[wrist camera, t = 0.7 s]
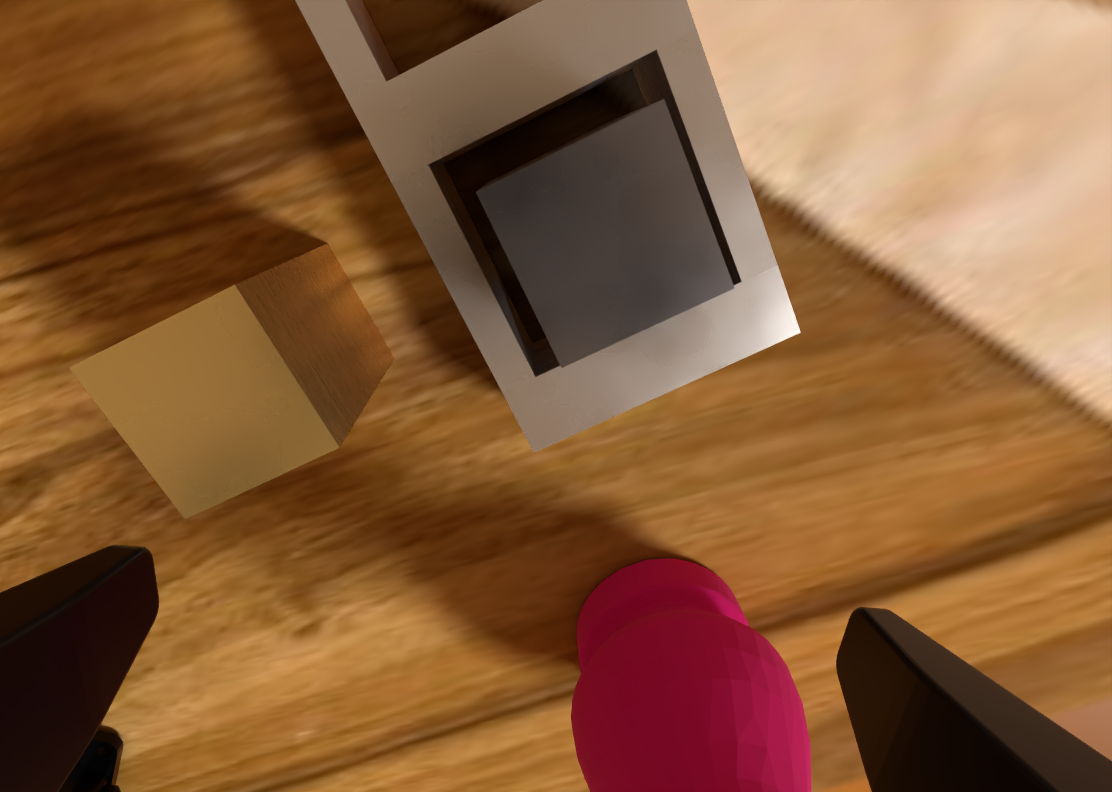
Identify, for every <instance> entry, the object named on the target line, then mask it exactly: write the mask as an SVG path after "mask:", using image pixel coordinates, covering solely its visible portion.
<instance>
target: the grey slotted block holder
mask: <svg viewBox="0 0 1112 792" xmlns="http://www.w3.org/2000/svg"><path fill="white" fill-rule="evenodd" d="M295 1H296V3H297V5H298V7H299V9H300V11H301V12H302V14H303V16H304V18H305V20H306V22H307V24H308V26H309V28H310V29H311V31H312V33H313V35H314V37H315V39H316V41H317V43H318V45H319V46H320V48H321V50H322V52H323V54H324V56H325V58H326V60H327V62H328V64H329V65H330V67H331V69H332V71H333V73H334V75H335V77H336V79H337V81H338V82H339V84H340V86H341V88H342V90H343V92H344V94H345V96H346V98H347V99H348V101H349V103H350V105H351V107H352V109H353V111H354V113H355V115H356V117H357V118H358V120H359V122H360V124H361V126H362V128H363V130H364V132H365V134H366V135H367V137H368V139H369V141H370V143H371V145H372V147H373V149H374V151H375V152H376V154H377V156H378V158H379V160H380V162H381V164H382V166H383V168H384V170H385V171H386V173H387V175H388V177H389V179H390V181H391V183H392V185H393V187H394V188H395V190H396V192H397V194H398V196H399V198H400V200H401V202H402V204H403V205H404V207H405V209H406V211H407V213H408V215H409V217H410V219H411V221H412V223H413V224H414V226H415V228H416V230H417V232H418V234H419V236H420V238H421V240H422V241H423V243H424V245H425V247H426V249H427V251H428V253H429V255H430V257H431V258H432V260H433V262H434V264H435V266H436V268H437V270H438V272H439V274H440V276H441V277H442V279H443V281H444V283H445V285H446V287H447V289H448V291H449V293H450V294H451V296H452V298H453V300H454V302H455V304H456V306H457V308H458V310H459V312H460V313H461V315H462V317H463V319H464V321H465V323H466V325H467V327H468V329H469V330H470V332H471V334H472V336H473V338H474V340H475V342H476V344H477V346H478V347H479V349H480V351H481V353H482V355H483V357H484V359H485V361H486V363H487V365H488V366H489V368H490V370H491V372H492V374H493V376H494V378H495V380H496V382H497V383H498V385H499V387H500V389H501V391H502V393H503V395H504V397H505V399H506V400H507V402H508V404H509V406H510V408H511V410H512V412H513V414H514V416H515V418H516V419H517V421H518V423H519V425H520V427H521V429H522V431H523V433H524V435H525V436H526V438H527V440H528V442H529V444H530V446H531V448H532V450H533V452H537V451H539V450H541V449H543V448H545V447H548V446H550V445H552V444H554V443H557V442H559V441H561V440H563V439H565V438H568V437H570V436H572V435H574V434H577V433H579V432H581V431H583V430H585V429H588V428H590V427H592V426H594V425H597V424H599V423H601V422H603V421H605V420H608V419H610V418H612V417H614V416H617V415H619V414H621V413H623V412H625V411H628V410H630V409H632V408H634V407H636V406H639V405H641V404H643V403H645V402H648V401H650V400H652V399H654V398H656V397H659V396H661V395H663V394H665V393H668V392H670V391H672V390H674V389H676V388H679V387H681V386H683V385H685V384H688V383H690V382H692V381H694V380H696V379H699V378H701V377H703V376H705V375H708V374H710V373H712V372H714V371H716V370H719V369H721V368H723V367H725V366H727V365H730V364H732V363H734V362H736V361H739V360H741V359H743V358H745V357H747V356H750V355H752V354H754V353H756V352H759V351H761V350H763V349H765V348H767V347H770V346H772V345H774V344H776V343H779V342H781V341H783V340H785V339H787V338H790V337H792V336H794V335H796V334H799V333H801V332H800V329H799V326H798V323H797V320H796V317H795V315H794V312H793V309H792V306H791V303H790V300H789V297H788V294H787V291H786V288H785V286H784V283H783V280H782V277H781V274H780V271H779V268H778V265H777V262H776V259H775V256H774V254H773V251H772V248H771V245H770V242H769V239H768V236H767V233H766V230H765V227H764V224H763V222H762V219H761V216H760V213H759V210H758V207H757V204H756V201H755V198H754V195H753V192H752V190H751V187H750V184H749V181H748V178H747V175H746V172H745V169H744V166H743V163H742V160H741V158H740V155H739V152H738V149H737V146H736V143H735V140H734V137H733V134H732V131H731V129H730V126H729V123H728V120H727V117H726V114H725V111H724V108H723V105H722V102H721V99H720V97H719V94H718V91H717V88H716V85H715V82H714V79H713V76H712V73H711V70H710V67H709V65H708V62H707V59H706V56H705V53H704V50H703V47H702V44H701V41H700V38H699V35H698V33H697V30H696V27H695V24H694V21H693V18H692V15H691V12H690V9H689V6H688V3H687V1H686V0H542V1H540V2H538V3H537V4H535V5H533V6H531V7H529V8H527V9H525V10H523V11H521V12H519V13H517V14H515V15H514V16H512V17H510V18H508V19H506V20H504V21H502V22H500V23H498V24H496V25H494V26H492V27H491V28H489V29H487V30H485V31H483V32H481V33H479V34H477V35H475V36H473V37H471V38H469V39H468V40H466V41H464V42H462V43H460V44H458V45H456V46H454V47H452V48H450V49H448V50H446V51H444V52H443V53H441V54H439V55H437V56H435V57H433V58H431V59H429V60H427V61H425V62H423V63H421V64H420V65H418V66H416V67H414V68H412V69H410V70H408V71H406V72H404V73H402V74H400V75H399V73H398V71H397V69H396V67H395V65H394V63H393V61H392V59H391V57H390V55H389V53H388V51H387V49H386V47H385V45H384V43H383V41H382V39H381V37H380V35H379V33H378V31H377V29H376V27H375V25H374V23H373V21H372V19H371V17H370V15H369V13H368V11H367V9H366V7H365V5H364V3H363V1H362V0H295ZM630 69H633V72H634V75H635V77H636V80H637V82H638V85H639V88H640V90H641V93H642V95H643V98H644V101H645V103H646V106H645V107H643V108H640V109H638V110H636V111H633V112H631V113H628V114H626V115H623V116H621V117H618V118H616V119H614V120H612V121H610V122H608V123H606V124H604V125H602V126H600V127H597V128H595V129H593V130H591V131H589V132H587V133H585V134H583V135H581V136H579V137H577V138H575V139H573V140H571V141H569V142H567V143H565V144H563V145H561V146H559V147H557V148H555V149H553V150H551V151H549V152H547V153H545V154H543V155H541V156H539V157H537V158H535V159H533V160H531V161H529V162H527V163H525V164H523V165H521V166H519V167H517V168H515V169H513V170H511V171H509V172H507V173H505V174H503V175H501V176H499V177H497V178H495V179H493V180H491V181H489V182H488V183H487V184H485V185H484V186H483V187H482V188H480V189H479V190H478V191H477V192H476V194H477V196H478V198H479V200H480V202H481V204H482V206H483V208H484V210H485V212H486V214H487V216H488V218H489V220H490V222H491V224H492V227H493V229H494V231H495V233H496V235H497V237H498V239H499V241H500V243H501V245H502V247H503V249H504V251H505V253H506V255H507V257H508V259H509V261H510V263H511V266H512V268H513V270H514V272H515V274H516V276H517V278H518V280H519V282H520V284H521V286H522V288H523V290H524V292H525V294H526V296H527V298H528V300H529V302H530V305H531V307H532V309H533V311H534V313H535V315H536V317H537V319H538V321H539V323H540V325H541V327H542V329H543V331H544V333H545V335H546V337H545V338H543V339H541V340H539V341H537V342H535V343H532V341H531V339H530V337H529V335H528V333H527V331H526V329H525V327H524V325H523V323H522V321H521V319H520V317H519V315H518V313H517V311H516V309H515V307H514V305H513V303H512V301H511V299H510V297H509V295H508V293H507V291H506V289H505V287H504V285H503V283H502V281H501V279H500V277H499V275H498V273H497V271H496V269H495V267H494V265H493V263H492V261H491V259H490V257H489V255H488V253H487V251H486V249H485V247H484V245H483V243H482V241H481V239H480V237H479V235H478V233H477V231H476V229H475V226H474V224H473V222H472V220H471V218H470V216H469V214H468V212H467V210H466V208H465V206H464V204H463V202H462V200H461V198H460V196H459V194H458V192H457V190H456V188H455V186H454V184H453V182H452V180H451V178H450V176H449V174H448V172H447V170H446V168H445V166H444V163H446V162H448V161H450V160H452V159H454V158H456V157H458V156H460V155H461V154H463V153H465V152H467V151H469V150H471V149H473V148H475V147H477V146H479V145H481V144H483V143H485V142H487V141H489V140H491V139H493V138H495V137H497V136H499V135H501V134H503V133H505V132H507V131H509V130H511V129H513V128H515V127H517V126H519V125H521V124H523V123H525V122H527V121H529V120H531V119H533V118H535V117H537V116H539V115H541V114H543V113H545V112H547V111H549V110H551V109H553V108H555V107H557V106H559V105H561V104H563V103H565V102H567V101H569V100H571V99H573V98H575V97H577V96H579V95H581V94H583V93H585V92H587V91H589V90H591V89H593V88H595V87H597V86H599V85H601V84H603V83H605V82H607V81H608V80H610V79H612V78H614V77H616V76H618V75H620V74H622V73H624V72H626V71H628V70H630Z"/></svg>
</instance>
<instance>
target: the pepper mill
mask: <svg viewBox="0 0 1112 792" xmlns="http://www.w3.org/2000/svg"><path fill="white" fill-rule="evenodd" d="M576 638H577V647H578V655H579V664H580V670H581V676H580V678H579V680H578V682H577V685H576V688H575V692H574V695H573V699H572V712H571V722H572V729H573V736H574V741H575V747H576V752H577V758H578V761H579V764H580V766H581V769H582V772H583V775H584V777H585V780H586V782H587V784H588V787H589V789H590V792H811V750H810V739H809V734H808V729H807V724H806V719H805V714H804V709H803V704H802V701H801V699H800V696H799V694H798V691H797V689H796V686H795V684H794V682H793V679H792V677H791V674H790V672H789V669H788V667H787V665H786V664H785V662H784V661H783V659H782V658H781V656H780V655H779V653H778V652H777V651H776V650H775V648H774V647H773V646H772V645H771V644H770V643H769V641H768V640H767V639H765V638H764V637H763V636H762V635H760V634H759V633H758V632H757V631H755V630H754V629H752V628H751V627H749V625H748V622H747V620H746V618H745V616H744V614H743V612H742V610H741V608H740V606H739V604H738V602H737V600H736V598H735V596H734V594H733V592H732V591H731V589H730V588H729V587H728V585H727V584H726V583H725V582H724V581H723V580H722V579H721V578H720V577H719V576H717V575H716V574H715V573H713V572H712V571H710V570H709V569H707V568H705V567H702V566H700V565H698V564H695V563H693V562H689V561H685V560H679V559H673V558H667V559H651V560H644V561H641V562H638V563H635V564H632V565H629V566H626V567H624V568H622V569H620V570H618V571H617V572H615V573H614V574H612V575H610V576H609V577H607V578H606V579H604V580H603V581H602V582H601V583H600V584H599V585H598V586H597V587H596V588H595V589H594V590H593V592H592V593H591V594H590V595H589V597H588V598H587V600H586V602H585V603H584V605H583V607H582V609H581V612H580V615H579V619H578V622H577V632H576Z"/></svg>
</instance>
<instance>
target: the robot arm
mask: <svg viewBox="0 0 1112 792" xmlns="http://www.w3.org/2000/svg"><path fill="white" fill-rule="evenodd" d="M158 608H159V595H158V589H157V582H156V575H155V568H154V562H153V557H152V554H151V552H150V551H149V550H148V549H147V548H145V547H139V546H128V545H111V546H108V547H106V548H103V549H101V550H99V551H96V552H94V553H92V554H89V555H87V556H85V557H82V558H80V559H78V560H75V561H73V562H71V563H68V564H66V565H64V566H61V567H59V568H57V569H54V570H52V571H50V572H47V573H45V574H43V575H40V576H38V577H36V578H33V579H31V580H29V581H26V582H24V583H22V584H19V585H17V586H15V587H12V588H10V589H8V590H5V591H3V592H1V593H0V792H121V791H120V788H119V786H117V785H116V780H117V775H118V770H119V765H120V760H121V755H122V750H123V741H122V740H121V738H119V737H118V736H117V735H114V734H111V733H107V732H102V731H97V730H98V728H99V726H100V724H101V722H102V721H103V719H104V717H105V715H106V713H107V711H108V709H109V708H110V706H111V704H112V702H113V700H114V698H115V696H116V694H117V692H118V690H119V688H120V686H121V685H122V683H123V681H124V679H125V677H126V675H127V673H128V671H129V669H130V667H131V665H132V663H133V662H134V660H135V658H136V656H137V654H138V652H139V650H140V648H141V646H142V644H143V642H144V640H145V638H146V637H147V635H148V633H149V631H150V629H151V627H152V625H153V623H154V621H155V619H156V616H157V613H158ZM836 668H837V674H838V678H839V682H840V685H841V689H842V692H843V696H844V699H845V703H846V706H847V710H848V713H849V716H850V720H851V723H852V727H853V730H854V734H855V737H856V741H857V744H858V748H859V751H860V755H861V758H862V762H863V765H864V769H865V772H866V775H867V778H868V781H869V785H870V787H871V791H872V792H1112V761H1111V760H1109V759H1108V758H1106V757H1105V756H1103V755H1102V754H1100V753H1099V752H1097V751H1096V750H1094V749H1093V748H1091V747H1090V746H1088V745H1087V744H1086V743H1084V742H1083V741H1081V740H1080V739H1078V738H1077V737H1075V736H1074V735H1072V734H1071V733H1069V732H1068V731H1066V730H1065V729H1063V728H1062V727H1061V726H1059V725H1058V724H1056V723H1054V722H1053V721H1052V720H1050V719H1049V718H1047V717H1046V716H1044V715H1043V714H1042V713H1040V712H1039V711H1037V710H1036V709H1034V708H1033V707H1031V706H1030V705H1028V704H1027V703H1025V702H1024V701H1022V700H1021V699H1019V698H1018V697H1017V696H1015V695H1014V694H1012V693H1011V692H1009V691H1008V690H1006V689H1005V688H1003V687H1002V686H1000V685H999V684H997V683H996V682H995V681H993V680H992V679H990V678H989V677H987V676H986V675H984V674H983V673H981V672H980V671H978V670H977V669H975V668H974V667H972V666H971V665H970V664H968V663H967V662H965V661H964V660H962V659H961V658H959V657H958V656H956V655H955V654H953V653H952V652H950V651H949V650H948V649H946V648H945V647H943V646H942V645H940V644H939V643H937V642H936V641H934V640H933V639H931V638H930V637H928V636H927V635H925V634H924V633H923V632H921V631H920V630H918V629H917V628H915V627H914V626H912V625H911V624H909V623H908V622H906V621H905V620H903V619H902V618H901V617H899V616H898V615H896V614H895V613H893V612H891V611H890V610H887V609H880V608H867V607H859V608H856V609H855V610H854V611H853V612H852V614H851V616H850V618H849V621H848V624H847V627H846V630H845V633H844V636H843V639H842V642H841V645H840V648H839V651H838V654H837V660H836Z"/></svg>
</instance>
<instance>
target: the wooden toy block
mask: <svg viewBox="0 0 1112 792" xmlns="http://www.w3.org/2000/svg"><path fill="white" fill-rule="evenodd" d="M394 359H395V358H394V357H393V355H392V353H391V352H390V350H389V348H388V346H387V345H386V343H385V341H384V339H383V338H382V336H381V334H380V333H379V331H378V329H377V327H376V326H375V324H374V322H373V320H372V319H371V317H370V315H369V314H368V312H367V310H366V308H365V307H364V305H363V303H362V301H361V300H360V298H359V296H358V295H357V293H356V291H355V289H354V288H353V286H352V284H351V282H350V281H349V279H348V277H347V276H346V274H345V272H344V270H343V269H342V267H341V265H340V263H339V262H338V260H337V258H336V257H335V255H334V253H333V251H332V250H331V248H330V246H329V244H328V243H327V244H325V245H323V246H321V247H318V248H316V249H314V250H312V251H309V252H307V253H305V254H303V255H300V256H298V257H296V258H294V259H291V260H289V261H287V262H285V263H282V264H280V265H278V266H276V267H273V268H271V269H269V270H267V271H264V272H262V273H260V274H258V275H255V276H253V277H251V278H249V279H246V280H244V281H242V282H240V283H237V284H235V285H233V286H231V287H229V288H227V289H225V290H223V291H221V292H219V293H217V294H215V295H213V296H211V297H209V298H207V299H205V300H203V301H201V302H199V303H197V304H195V305H193V306H191V307H189V308H187V309H185V310H183V311H181V312H179V313H177V314H175V315H173V316H171V317H169V318H167V319H165V320H163V321H161V322H159V323H157V324H155V325H153V326H151V327H149V328H147V329H145V330H143V331H141V332H139V333H137V334H135V335H133V336H131V337H129V338H127V339H125V340H123V341H121V342H119V343H117V344H115V345H113V346H111V347H109V348H107V349H105V350H103V351H101V352H99V353H97V354H95V355H93V356H91V357H89V358H87V359H85V360H83V361H81V362H79V363H77V364H75V365H73V366H71V367H69V369H70V370H71V371H72V373H73V374H74V375H75V377H76V378H77V379H78V381H79V382H80V383H81V384H82V386H83V387H84V388H85V390H86V391H87V392H88V394H89V395H90V396H91V397H92V399H93V400H94V401H95V403H96V404H97V405H98V407H99V408H100V409H101V410H102V412H103V413H104V414H105V416H106V417H107V418H108V420H109V421H110V422H111V424H112V425H113V426H114V427H115V429H116V430H117V431H118V433H119V434H120V435H121V437H122V438H123V439H124V440H125V442H126V443H127V444H128V446H129V447H130V448H131V450H132V451H133V452H134V453H135V455H136V456H137V457H138V459H139V460H140V461H141V463H142V464H143V465H144V466H145V468H146V469H147V470H148V472H149V473H150V474H151V476H152V477H153V478H154V480H155V481H156V482H157V483H158V485H159V486H160V487H161V489H162V490H163V491H164V493H165V494H166V495H167V496H168V498H169V499H170V500H171V502H172V503H173V504H174V506H175V507H176V508H177V509H178V511H179V512H180V513H181V515H182V516H183V517H184V519H188V518H190V517H192V516H194V515H196V514H198V513H200V512H203V511H205V510H207V509H209V508H211V507H213V506H215V505H218V504H220V503H222V502H224V501H226V500H228V499H230V498H233V497H235V496H237V495H239V494H241V493H243V492H246V491H248V490H250V489H252V488H254V487H256V486H258V485H261V484H263V483H265V482H267V481H269V480H271V479H273V478H276V477H278V476H280V475H282V474H284V473H286V472H288V471H291V470H293V469H295V468H297V467H299V466H301V465H304V464H306V463H308V462H310V461H312V460H314V459H316V458H319V457H321V456H323V455H325V454H327V453H329V452H331V451H334V450H336V449H338V448H340V446H341V445H342V443H343V441H344V440H345V438H346V436H347V435H348V433H349V432H350V430H351V428H352V427H353V425H354V423H355V422H356V420H357V419H358V417H359V415H360V414H361V412H362V410H363V409H364V407H365V406H366V404H367V402H368V401H369V399H370V397H371V396H372V394H373V393H374V391H375V389H376V388H377V386H378V384H379V383H380V381H381V380H382V378H383V376H384V375H385V373H386V371H387V370H388V368H389V367H390V365H391V363H392V362H393V360H394Z"/></svg>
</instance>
